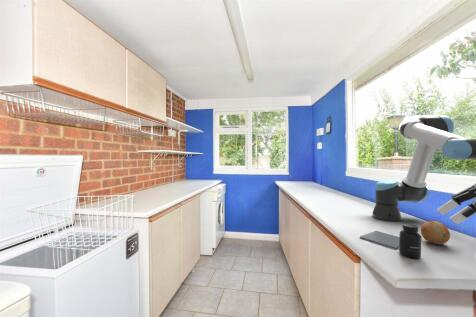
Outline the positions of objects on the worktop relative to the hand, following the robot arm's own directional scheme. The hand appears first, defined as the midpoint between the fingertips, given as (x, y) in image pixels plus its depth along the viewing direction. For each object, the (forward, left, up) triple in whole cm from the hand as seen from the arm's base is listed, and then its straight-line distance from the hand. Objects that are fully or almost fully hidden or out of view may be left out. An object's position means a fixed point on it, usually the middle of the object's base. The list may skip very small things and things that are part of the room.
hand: (445, 216), depth 81 cm
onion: (-18, -8, -17) cm, 26 cm away
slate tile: (-4, -22, -17) cm, 28 cm away
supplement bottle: (+5, -9, -17) cm, 20 cm away
